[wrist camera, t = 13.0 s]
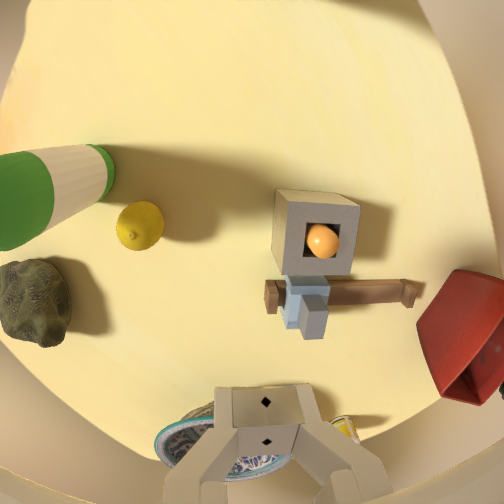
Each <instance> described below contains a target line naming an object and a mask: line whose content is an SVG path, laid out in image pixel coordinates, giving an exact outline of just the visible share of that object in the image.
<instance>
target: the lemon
mask: <svg viewBox="0 0 504 504" xmlns="http://www.w3.org/2000/svg"><path fill="white" fill-rule="evenodd" d="M116 230H117V236H118V238H119V240H120V241H121V243H122V244H123V245H124V246H125V247H127V248H129V249H131V250H135V251H141V250H145V249H148V248H150V247H152V246H153V245H154V244H155V243H157V242H158V240H159V239H160V237H161V236H162V233H163V230H164V218H163V215H162V213H161V211H160V210H159V208H158V207H157V206H155V205H154V204H152V203H150V202H146V201H139V202H134V203H132V204H130V205H128V206H127V207H126V208H125V209H124V210H123V211H122V213H121V214H120V215H119V218H118V221H117V226H116Z"/></svg>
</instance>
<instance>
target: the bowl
mask: <svg viewBox="0 0 504 504" xmlns="http://www.w3.org/2000/svg"><path fill="white" fill-rule="evenodd" d="M209 428H214V403H210V404H207V405H205V406H203V407H200V408H197V409H195V410H193V411H191V412H189V413H188V414H187V415H185V416H184V417H183V418H182V419H181V420H180V421H178V422H176V423H173V424H171V425H169V426H167V427H165V428H164V429H163V430H161V431H160V432H159V433H158V435H157V436H156V439H155V442H154V448H155V452H156V454H157V455H158V457H159V458H160V459H161V460H162V461H163V462H164V463H165V464H166V465H167V466H169V467H170V468H172V469H173V468H174V467H175V466H176V465H177V464H178V462H179V461H180V460H181V459H182V458H183V457H184V456H185V455H186V454H187V453H188V451H189V450H190V449H191V448H192V447H193V446H194V445H195V444H196V442H197V441H198V440H199V439H200V438H201V437H202V436H203V434H204V433H205V432H206V431H207V430H208V429H209ZM292 458H293V457H292V456H291V454H283V455H264V456H251V457H238V460H237V461H236V463H235V464H234V466H233V467H232V469H231V471H230V472H229V474H228V475H227V477H226V478H225V480H224V481H223V482H233V481H244V480H251V479H255V478H259V477H262V476H266V475H268V474H271V473H273V472H275V471H277V470H279V469H281V468H282V467H284V466H285V465H286V464H287V463H288V462H289V461H290V460H291V459H292Z"/></svg>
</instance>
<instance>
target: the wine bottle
mask: <svg viewBox="0 0 504 504" xmlns="http://www.w3.org/2000/svg"><path fill="white" fill-rule="evenodd" d="M114 178H115V167H114V163H113V160H112V158H111V157H110V155H109V154H108V153H107V152H106V151H105V150H104V149H103V148H101V147H99V146H96V145H92V144H87V145H72V146H61V147H52V148H43V149H35V150H28V151H21V152H16V153H10V154H4V155H0V251H9V250H12V249H15V248H17V247H19V246H22V245H23V244H25V243H26V242H28V241H30V240H31V239H33V238H34V237H36V236H38V235H40V234H41V233H43V232H45V231H46V230H48V229H50V228H52V227H53V226H55V225H57V224H58V223H60V222H62V221H64V220H65V219H67V218H69V217H71V216H73V215H74V214H76V213H78V212H80V211H82V210H84V209H85V208H87V207H89V206H91V205H93V204H94V203H96V202H98V201H100V200H101V199H102V198H104V197H105V196H106V195H107V194H108V192H109V191H110V189H111V187H112V185H113V183H114Z"/></svg>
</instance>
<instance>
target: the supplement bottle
mask: <svg viewBox="0 0 504 504" xmlns="http://www.w3.org/2000/svg"><path fill="white" fill-rule="evenodd" d="M330 423H331V424H332V425H333V426H335V427H336V428H337V429H339V430H340V431H341V432H343V433H344V434H345V435H347V436H348V437H349V438H351V439H352V440H354V441H355V442H356V443H358V444H359V445H360V439H359V437H358V434H357V432H356V429H355V427H354V424H353V422H352V419H351V418H350V417H349V416H341V417H338V418H335V419H334V420H332V421H331V422H330Z"/></svg>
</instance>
